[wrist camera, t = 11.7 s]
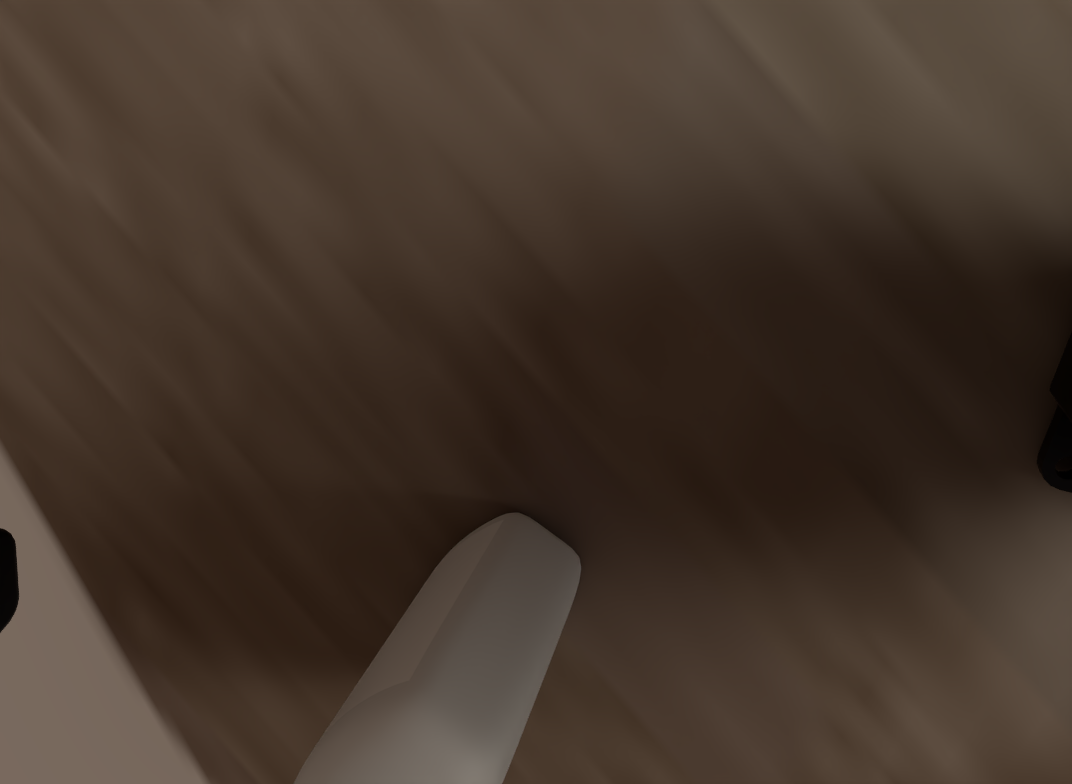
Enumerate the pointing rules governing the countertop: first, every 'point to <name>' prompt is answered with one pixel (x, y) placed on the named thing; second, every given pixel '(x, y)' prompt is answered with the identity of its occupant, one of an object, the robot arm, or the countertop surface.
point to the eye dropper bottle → (457, 666)
